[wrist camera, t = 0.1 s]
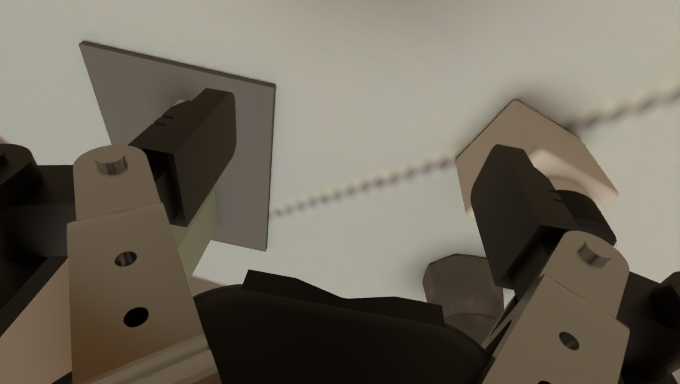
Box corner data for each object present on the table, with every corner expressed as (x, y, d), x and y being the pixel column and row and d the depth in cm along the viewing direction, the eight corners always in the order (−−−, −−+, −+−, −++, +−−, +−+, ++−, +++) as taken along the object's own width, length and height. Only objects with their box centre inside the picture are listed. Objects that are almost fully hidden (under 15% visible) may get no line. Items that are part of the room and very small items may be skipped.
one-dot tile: (189, 183, 37) (143, 249, 30) (214, 188, 37) (173, 256, 30) (195, 221, 41) (155, 287, 34) (218, 225, 41) (182, 292, 34)
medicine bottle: (453, 160, 31) (474, 269, 22) (514, 96, 27) (571, 202, 18) (514, 192, 33) (557, 307, 24) (581, 138, 28) (665, 254, 19)
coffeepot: (414, 301, 47) (420, 466, 34) (398, 259, 42) (397, 436, 28) (540, 292, 42) (605, 480, 29) (541, 243, 37) (622, 447, 23)
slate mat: (83, 41, 28) (78, 43, 28) (275, 84, 29) (273, 88, 28) (140, 220, 43) (137, 224, 43) (266, 247, 43) (265, 251, 43)
